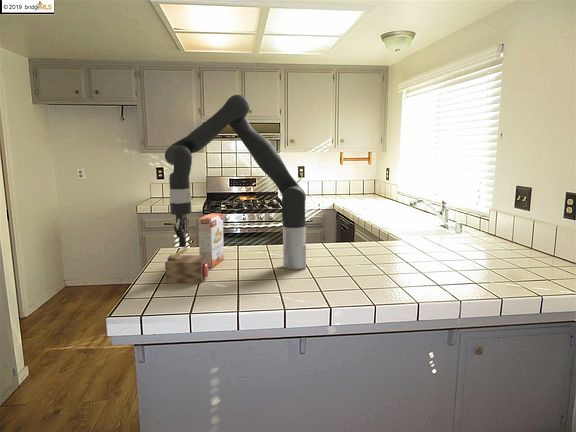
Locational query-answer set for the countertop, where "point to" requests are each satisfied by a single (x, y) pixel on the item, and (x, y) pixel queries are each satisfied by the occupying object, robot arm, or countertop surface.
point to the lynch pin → (205, 270)
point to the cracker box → (211, 238)
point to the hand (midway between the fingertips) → (182, 246)
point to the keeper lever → (177, 254)
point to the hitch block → (185, 269)
